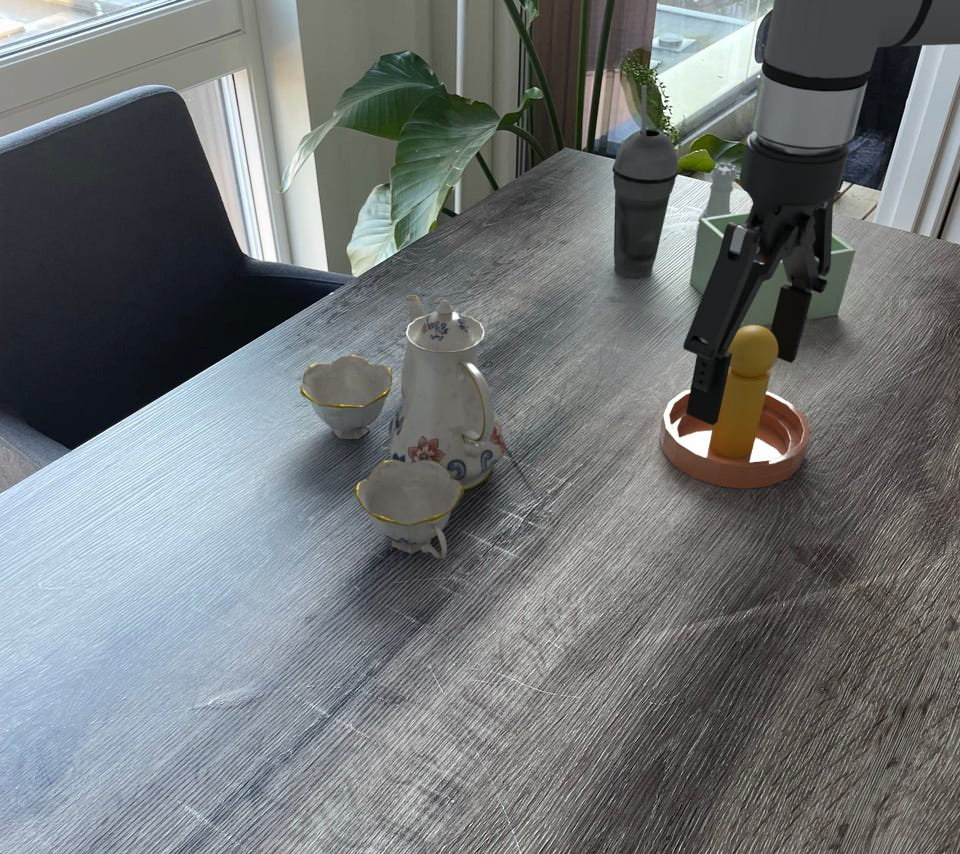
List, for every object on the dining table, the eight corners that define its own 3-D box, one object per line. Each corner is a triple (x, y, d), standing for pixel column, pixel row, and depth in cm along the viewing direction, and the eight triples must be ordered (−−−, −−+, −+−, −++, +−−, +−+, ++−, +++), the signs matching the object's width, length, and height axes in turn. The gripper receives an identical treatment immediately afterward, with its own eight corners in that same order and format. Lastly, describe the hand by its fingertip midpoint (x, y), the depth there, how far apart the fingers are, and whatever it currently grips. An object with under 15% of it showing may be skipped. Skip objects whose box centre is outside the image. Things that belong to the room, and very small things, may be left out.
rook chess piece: (712, 221, 132) (723, 156, 126) (739, 233, 129) (751, 168, 124) (688, 231, 130) (698, 165, 124) (715, 243, 127) (727, 177, 122)
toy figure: (740, 428, 99) (766, 312, 90) (763, 454, 96) (793, 336, 87) (699, 436, 98) (721, 320, 89) (721, 463, 95) (747, 345, 86)
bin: (780, 267, 123) (795, 204, 118) (837, 315, 115) (856, 250, 110) (689, 282, 120) (699, 218, 115) (741, 332, 112) (755, 266, 107)
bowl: (755, 400, 103) (761, 373, 101) (830, 476, 94) (838, 449, 92) (635, 424, 100) (639, 397, 98) (701, 505, 91) (706, 478, 89)
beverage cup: (656, 288, 119) (683, 102, 105) (595, 278, 121) (613, 94, 106) (669, 261, 124) (696, 80, 110) (610, 251, 126) (629, 72, 111)
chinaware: (284, 429, 101) (241, 272, 89) (436, 373, 105) (415, 216, 93) (402, 606, 84) (369, 442, 72) (578, 531, 88) (576, 364, 76)
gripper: (831, 83, 85) (774, 320, 101) (664, 171, 72) (627, 429, 87) (917, 106, 82) (845, 347, 97) (759, 202, 69) (703, 464, 84)
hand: (742, 386), depth 92 cm, fingers open, 13 cm apart
